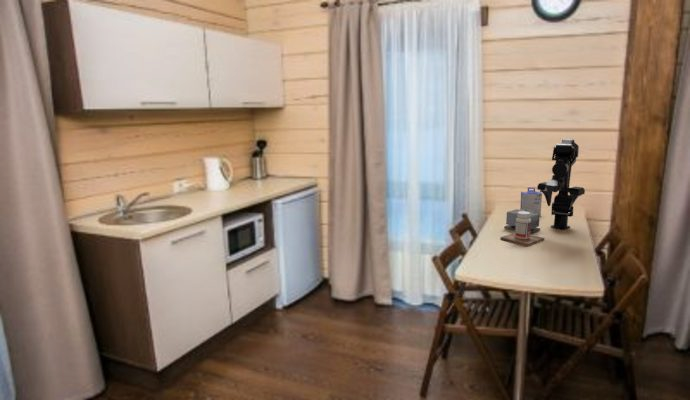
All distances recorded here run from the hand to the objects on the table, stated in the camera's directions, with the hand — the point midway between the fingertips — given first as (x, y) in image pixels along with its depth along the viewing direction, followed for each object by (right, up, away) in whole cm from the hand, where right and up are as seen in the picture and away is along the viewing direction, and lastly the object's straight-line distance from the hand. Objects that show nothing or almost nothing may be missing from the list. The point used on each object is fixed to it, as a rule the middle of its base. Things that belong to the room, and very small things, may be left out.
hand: (558, 207), depth 202 cm
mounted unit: (-11, -10, +14) cm, 21 cm away
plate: (-17, -14, -1) cm, 22 cm away
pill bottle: (-16, -13, -1) cm, 21 cm away
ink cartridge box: (+3, -5, +39) cm, 39 cm away
